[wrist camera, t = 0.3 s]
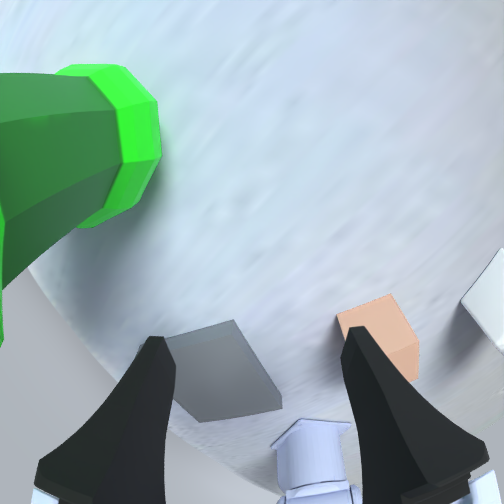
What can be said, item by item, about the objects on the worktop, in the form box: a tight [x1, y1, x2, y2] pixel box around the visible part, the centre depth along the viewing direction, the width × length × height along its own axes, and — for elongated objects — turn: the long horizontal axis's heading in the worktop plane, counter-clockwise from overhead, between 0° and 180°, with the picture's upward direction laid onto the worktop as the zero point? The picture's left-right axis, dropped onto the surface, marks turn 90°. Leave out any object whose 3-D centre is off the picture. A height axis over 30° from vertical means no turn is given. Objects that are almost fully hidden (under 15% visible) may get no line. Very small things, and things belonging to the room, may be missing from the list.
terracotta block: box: [337, 294, 419, 382], centre depth 21 cm, size 5×5×6 cm
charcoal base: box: [136, 320, 282, 423], centre depth 26 cm, size 12×10×2 cm
